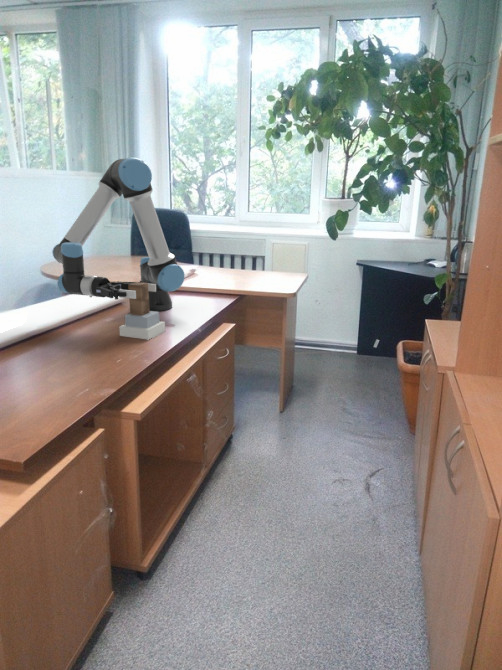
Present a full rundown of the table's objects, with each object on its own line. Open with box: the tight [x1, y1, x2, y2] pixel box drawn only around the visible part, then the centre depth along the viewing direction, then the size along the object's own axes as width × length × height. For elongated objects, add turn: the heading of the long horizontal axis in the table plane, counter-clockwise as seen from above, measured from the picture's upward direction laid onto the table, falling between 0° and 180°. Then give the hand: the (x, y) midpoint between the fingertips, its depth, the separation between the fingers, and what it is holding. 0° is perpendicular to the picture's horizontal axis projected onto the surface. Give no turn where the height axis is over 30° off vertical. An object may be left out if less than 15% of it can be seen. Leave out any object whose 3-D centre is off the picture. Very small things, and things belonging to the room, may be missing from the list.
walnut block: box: [128, 281, 150, 316], centre depth 174 cm, size 5×5×11 cm
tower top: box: [124, 311, 160, 328], centre depth 176 cm, size 9×9×4 cm
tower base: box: [118, 320, 166, 341], centre depth 177 cm, size 12×12×4 cm
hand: (145, 291), depth 172 cm, fingers open, 13 cm apart
